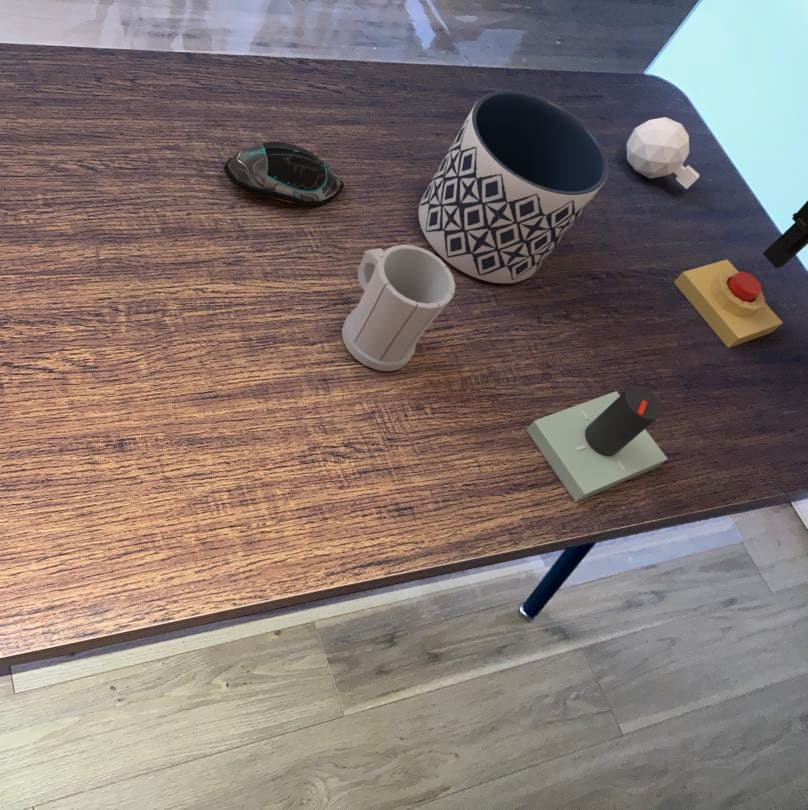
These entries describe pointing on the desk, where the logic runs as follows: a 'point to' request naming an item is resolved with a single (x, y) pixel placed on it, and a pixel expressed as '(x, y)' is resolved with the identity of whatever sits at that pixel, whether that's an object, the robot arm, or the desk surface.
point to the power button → (744, 286)
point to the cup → (396, 304)
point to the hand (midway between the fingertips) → (772, 259)
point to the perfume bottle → (661, 150)
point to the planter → (511, 186)
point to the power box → (726, 304)
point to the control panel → (590, 450)
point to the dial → (623, 420)
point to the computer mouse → (284, 174)
